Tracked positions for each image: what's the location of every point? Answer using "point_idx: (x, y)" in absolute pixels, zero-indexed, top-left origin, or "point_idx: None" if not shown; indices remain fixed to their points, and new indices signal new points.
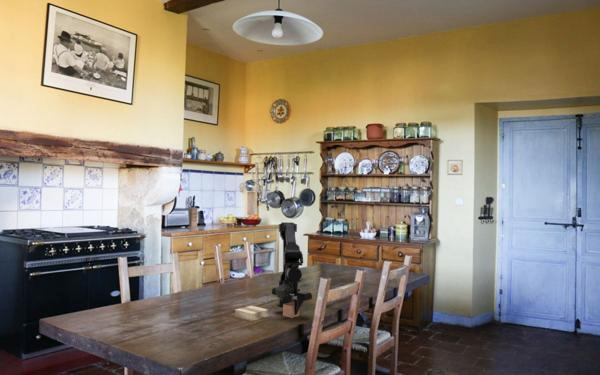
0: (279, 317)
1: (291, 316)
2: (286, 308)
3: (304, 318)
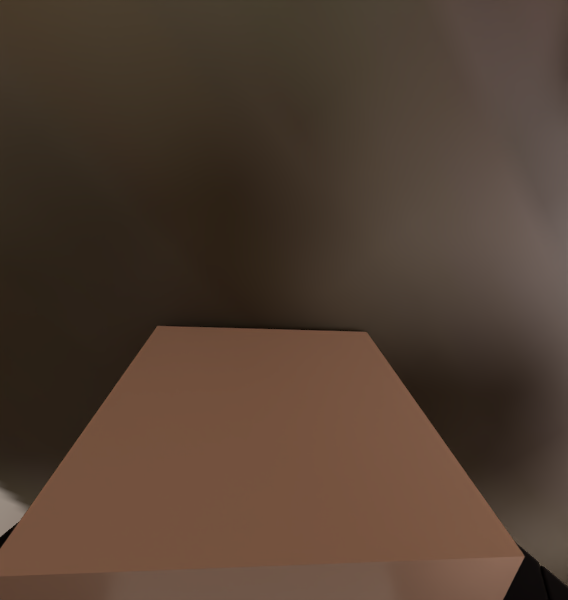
0: (370, 228)
1: (153, 338)
2: (308, 442)
3: (19, 447)
